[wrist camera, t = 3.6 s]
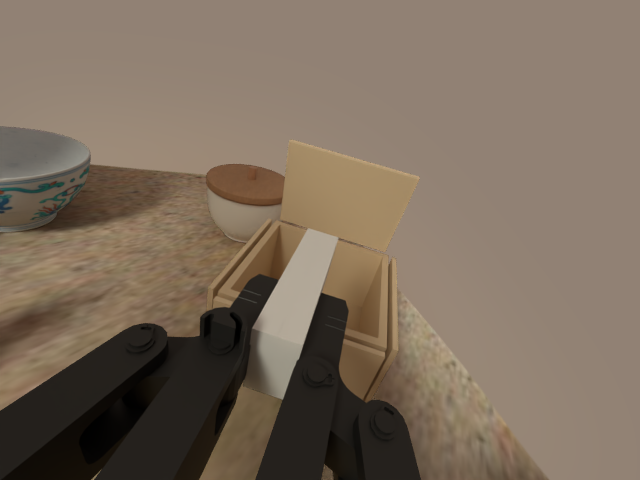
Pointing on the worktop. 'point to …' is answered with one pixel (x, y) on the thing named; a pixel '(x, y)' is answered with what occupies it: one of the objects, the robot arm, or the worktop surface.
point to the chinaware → (38, 176)
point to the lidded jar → (243, 199)
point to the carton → (342, 282)
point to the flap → (344, 195)
